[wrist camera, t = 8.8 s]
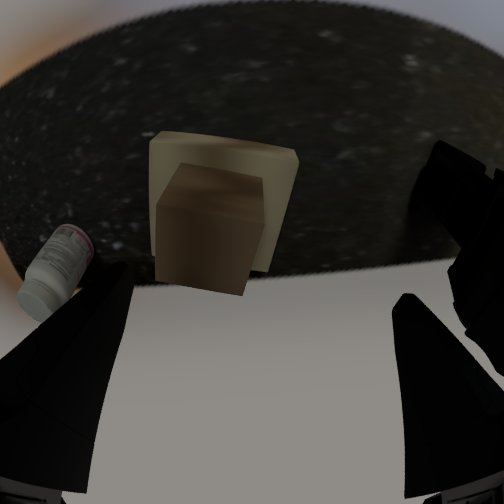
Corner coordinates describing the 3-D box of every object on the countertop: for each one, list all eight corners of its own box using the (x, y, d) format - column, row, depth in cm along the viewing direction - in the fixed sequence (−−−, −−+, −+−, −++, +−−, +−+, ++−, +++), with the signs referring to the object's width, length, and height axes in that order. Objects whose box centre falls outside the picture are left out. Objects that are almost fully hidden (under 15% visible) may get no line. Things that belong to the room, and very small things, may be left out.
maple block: (292, 147, 18) (299, 162, 16) (266, 247, 24) (267, 272, 21) (163, 129, 17) (149, 141, 15) (161, 232, 23) (151, 255, 20)
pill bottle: (83, 268, 25) (50, 333, 18) (50, 240, 22) (9, 301, 16) (103, 245, 23) (65, 317, 16) (66, 213, 21) (17, 279, 14)
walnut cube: (262, 177, 16) (264, 224, 13) (244, 241, 19) (242, 296, 16) (180, 162, 16) (156, 203, 12) (174, 228, 19) (155, 280, 15)
